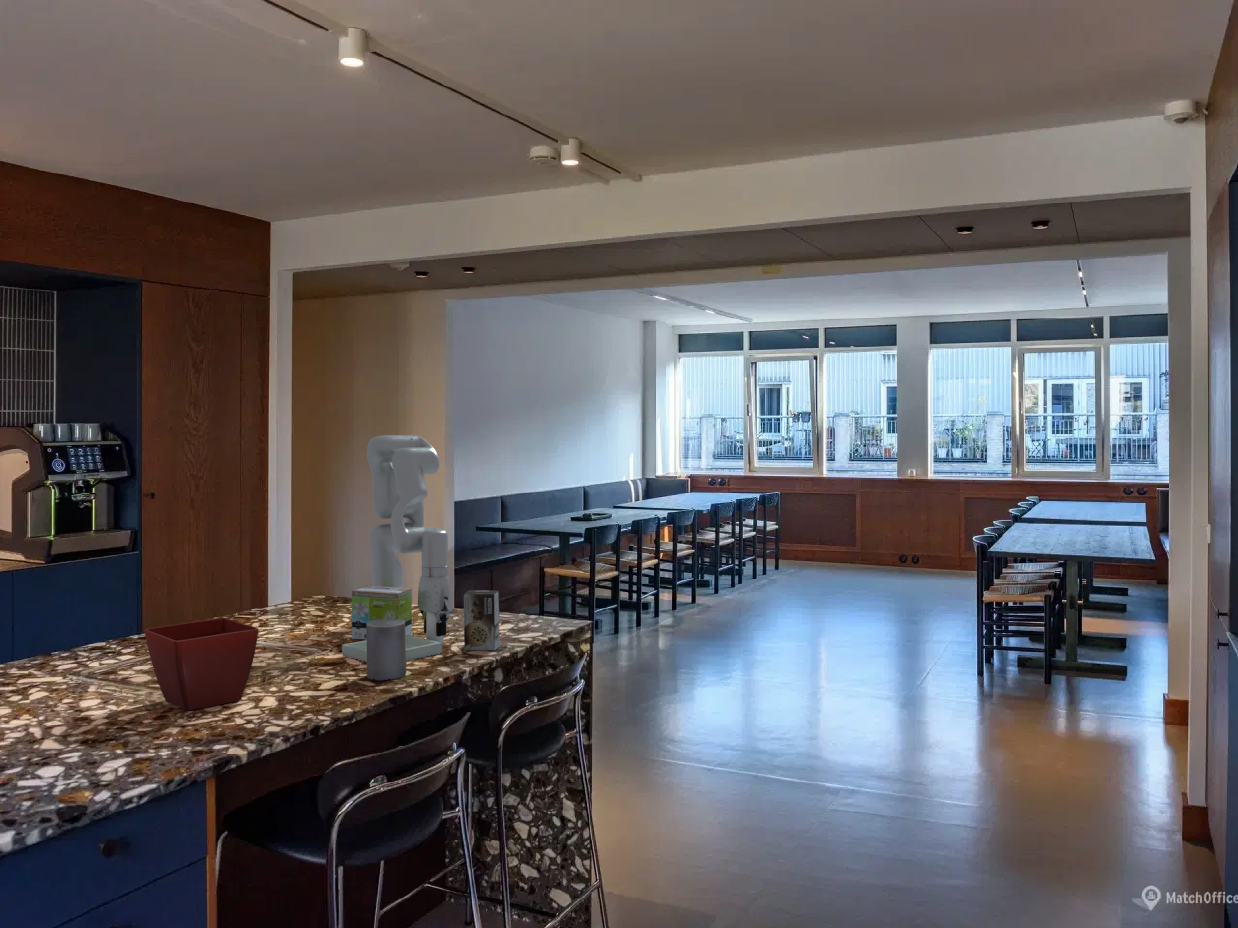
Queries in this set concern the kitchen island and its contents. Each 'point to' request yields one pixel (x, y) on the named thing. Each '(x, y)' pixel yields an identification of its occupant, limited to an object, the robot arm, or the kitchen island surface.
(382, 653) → the pillar candle
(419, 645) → the tray
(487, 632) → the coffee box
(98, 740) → the kitchen island surface
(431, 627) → the shaker
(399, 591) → the tea box
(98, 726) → the kitchen island surface
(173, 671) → the plant pot
